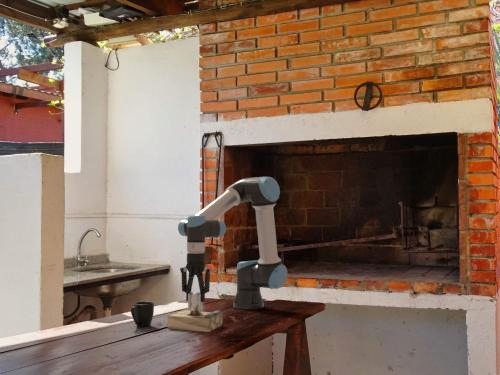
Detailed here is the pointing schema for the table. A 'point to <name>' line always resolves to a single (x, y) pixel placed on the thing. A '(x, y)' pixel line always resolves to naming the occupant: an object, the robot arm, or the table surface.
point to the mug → (142, 313)
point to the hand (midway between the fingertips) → (195, 309)
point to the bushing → (194, 304)
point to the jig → (195, 321)
